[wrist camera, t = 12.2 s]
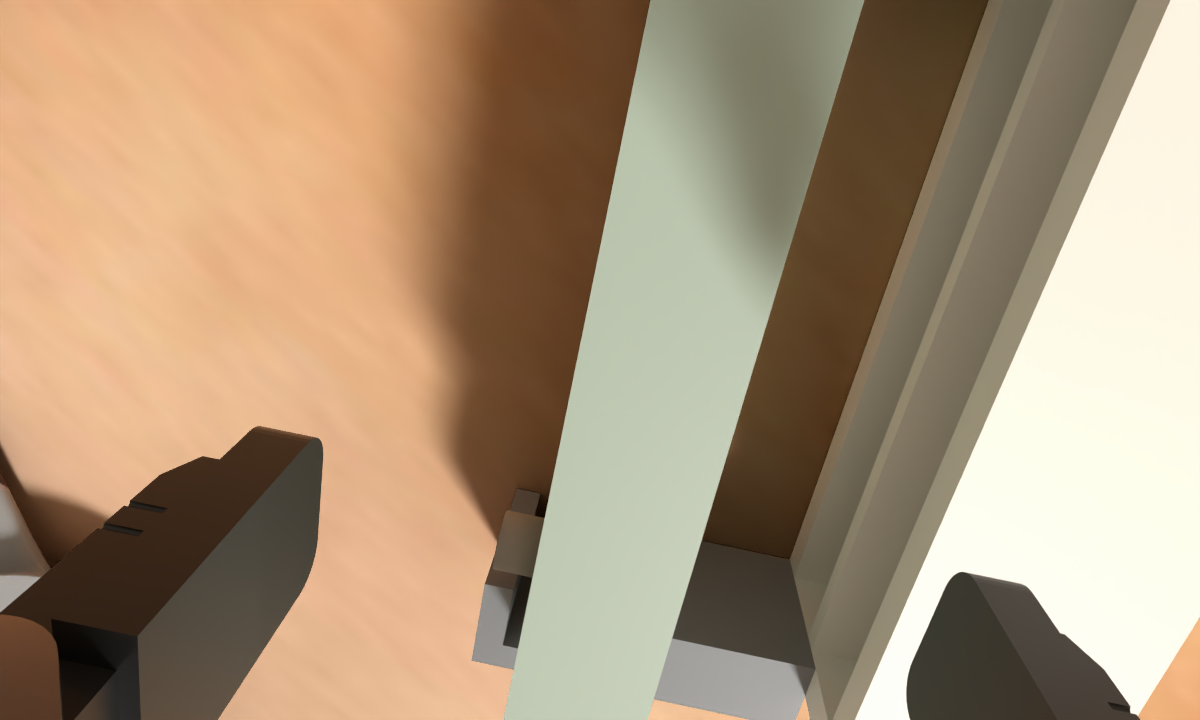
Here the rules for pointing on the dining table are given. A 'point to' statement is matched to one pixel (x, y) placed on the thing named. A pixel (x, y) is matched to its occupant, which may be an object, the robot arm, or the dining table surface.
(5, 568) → the spoon
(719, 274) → the door
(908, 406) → the cabinet
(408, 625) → the dining table surface
